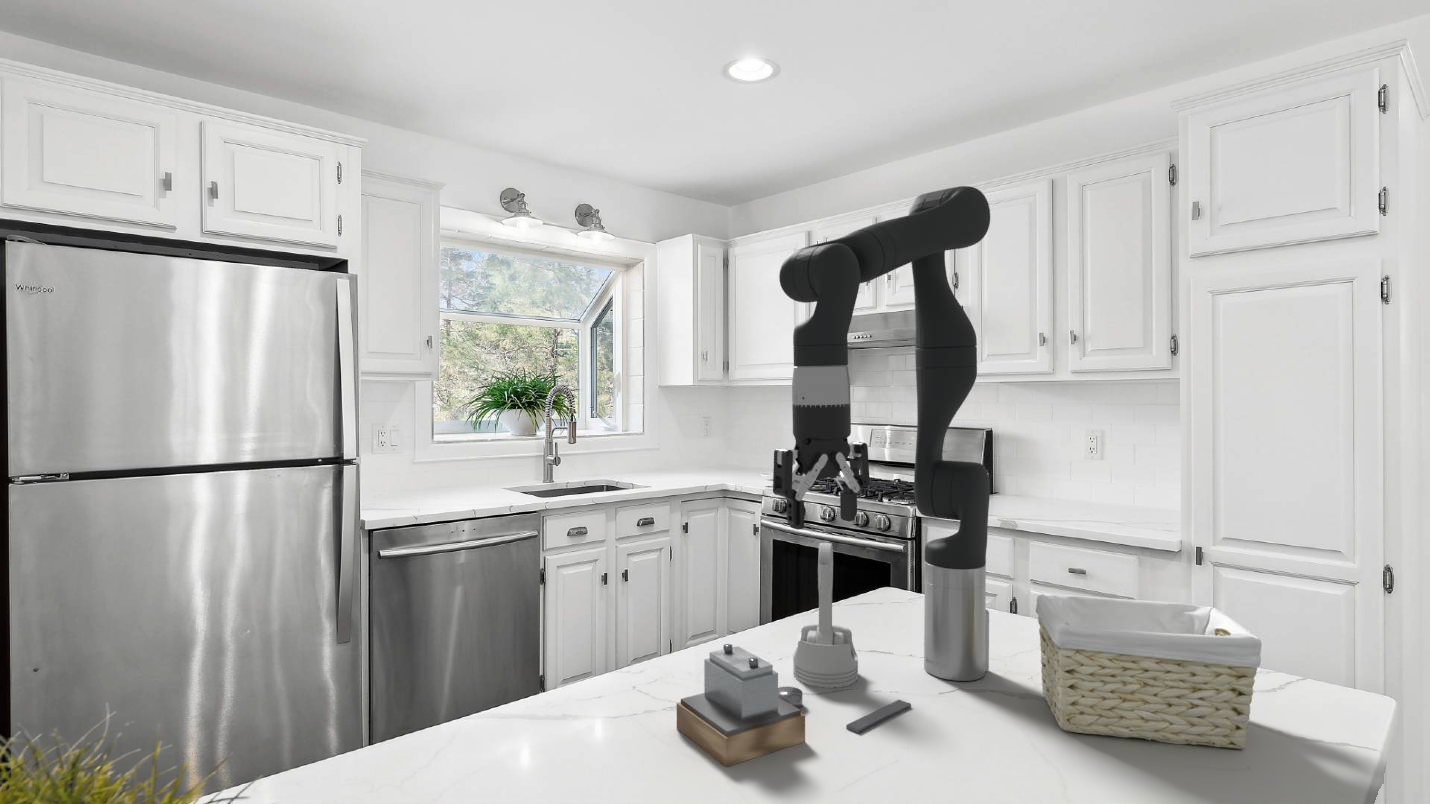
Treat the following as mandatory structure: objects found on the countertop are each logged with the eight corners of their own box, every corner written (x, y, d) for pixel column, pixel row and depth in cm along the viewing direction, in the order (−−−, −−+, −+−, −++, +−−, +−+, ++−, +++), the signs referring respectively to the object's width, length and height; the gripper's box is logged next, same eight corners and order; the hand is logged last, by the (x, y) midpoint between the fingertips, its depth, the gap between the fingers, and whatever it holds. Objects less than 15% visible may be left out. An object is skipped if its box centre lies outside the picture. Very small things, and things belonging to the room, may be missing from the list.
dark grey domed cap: (790, 698, 111) (790, 684, 111) (808, 707, 108) (808, 693, 108) (768, 704, 109) (768, 690, 109) (785, 714, 106) (785, 700, 106)
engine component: (789, 685, 116) (857, 690, 114) (789, 550, 115) (857, 553, 113) (796, 659, 126) (858, 663, 124) (796, 536, 126) (858, 538, 124)
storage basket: (1212, 705, 108) (1213, 601, 108) (1266, 760, 93) (1268, 639, 92) (1032, 690, 114) (1032, 591, 113) (1054, 739, 98) (1055, 625, 98)
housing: (778, 712, 97) (778, 659, 97) (741, 722, 94) (741, 667, 94) (739, 688, 104) (739, 638, 104) (704, 696, 102) (704, 646, 101)
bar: (899, 706, 109) (898, 699, 109) (911, 710, 108) (911, 703, 108) (846, 732, 101) (846, 725, 101) (858, 737, 99) (858, 729, 99)
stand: (751, 707, 107) (751, 679, 107) (805, 741, 97) (805, 710, 97) (676, 728, 101) (676, 698, 101) (726, 767, 91) (726, 733, 91)
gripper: (794, 404, 93) (797, 537, 93) (882, 399, 100) (883, 522, 101) (759, 402, 99) (762, 526, 100) (844, 397, 106) (845, 513, 107)
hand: (823, 524), depth 100 cm, fingers open, 8 cm apart
